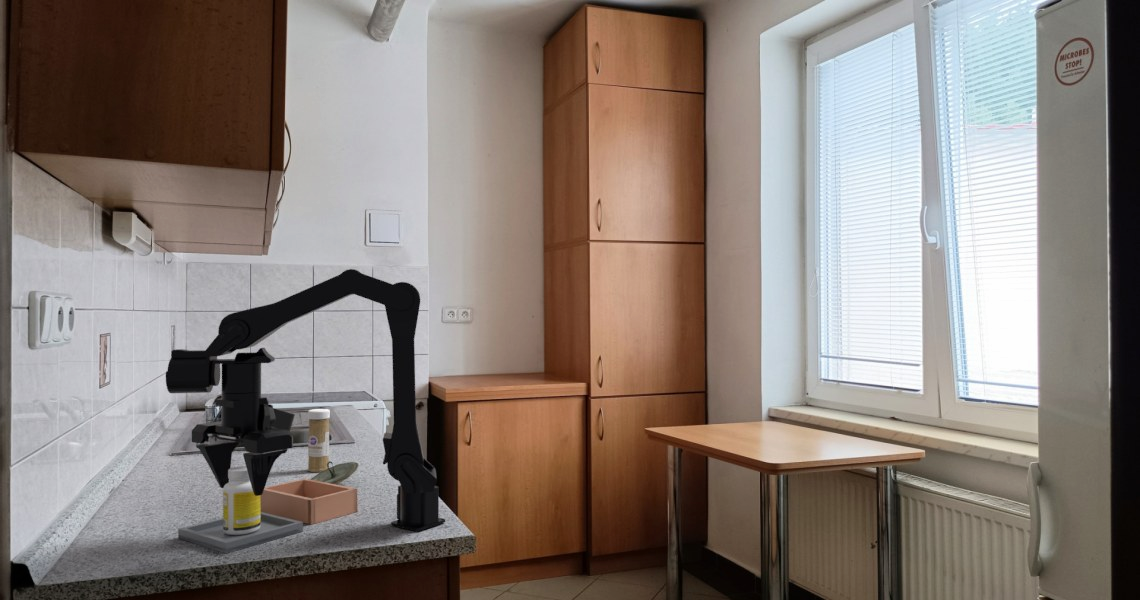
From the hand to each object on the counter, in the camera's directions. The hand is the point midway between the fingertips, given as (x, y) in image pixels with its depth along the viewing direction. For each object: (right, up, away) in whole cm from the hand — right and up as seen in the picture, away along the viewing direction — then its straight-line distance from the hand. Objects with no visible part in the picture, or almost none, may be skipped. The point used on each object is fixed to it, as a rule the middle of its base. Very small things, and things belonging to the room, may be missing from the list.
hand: (241, 491), depth 118 cm
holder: (+6, -7, +14) cm, 16 cm away
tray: (0, -7, 0) cm, 7 cm away
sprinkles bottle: (-4, -8, +48) cm, 49 cm away
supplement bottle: (0, -6, 0) cm, 6 cm away
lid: (+4, -8, +34) cm, 35 cm away
